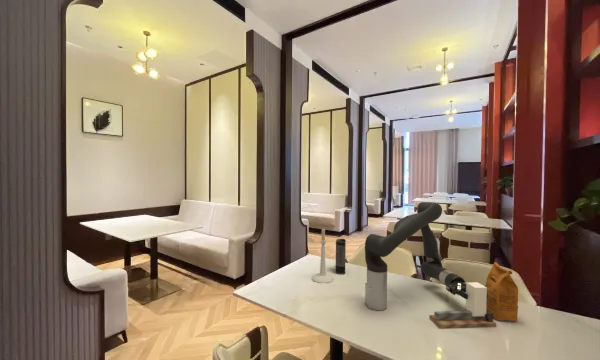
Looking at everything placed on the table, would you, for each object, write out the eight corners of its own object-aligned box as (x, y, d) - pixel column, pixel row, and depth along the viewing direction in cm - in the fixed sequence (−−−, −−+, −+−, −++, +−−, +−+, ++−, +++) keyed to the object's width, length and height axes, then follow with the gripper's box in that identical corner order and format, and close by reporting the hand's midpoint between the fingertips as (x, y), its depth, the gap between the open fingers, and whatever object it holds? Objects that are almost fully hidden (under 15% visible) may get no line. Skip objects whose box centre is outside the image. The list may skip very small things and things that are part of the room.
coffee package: (504, 309, 116) (506, 262, 115) (521, 324, 104) (522, 272, 103) (480, 306, 118) (481, 260, 118) (493, 321, 106) (494, 269, 106)
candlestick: (335, 283, 141) (335, 231, 141) (312, 283, 141) (312, 230, 141) (332, 274, 154) (332, 226, 154) (311, 274, 154) (312, 226, 154)
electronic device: (345, 274, 154) (345, 242, 154) (335, 273, 155) (335, 242, 155) (345, 269, 163) (345, 238, 163) (336, 268, 165) (336, 238, 164)
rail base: (439, 328, 101) (439, 316, 100) (429, 318, 108) (429, 306, 107) (496, 326, 102) (496, 314, 102) (482, 317, 109) (483, 305, 109)
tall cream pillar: (474, 317, 102) (475, 287, 102) (465, 310, 107) (466, 282, 107) (486, 317, 103) (486, 287, 102) (476, 310, 108) (477, 282, 107)
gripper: (437, 273, 120) (460, 288, 104) (466, 272, 121) (493, 287, 105) (437, 288, 120) (460, 306, 104) (465, 288, 121) (493, 305, 105)
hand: (477, 297), depth 104 cm, fingers open, 8 cm apart
